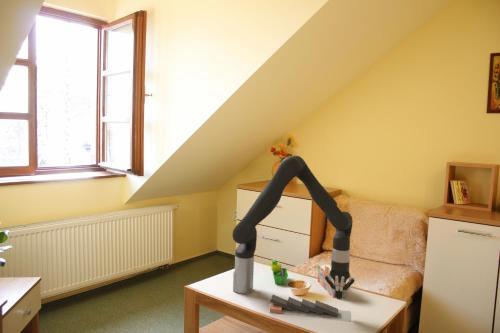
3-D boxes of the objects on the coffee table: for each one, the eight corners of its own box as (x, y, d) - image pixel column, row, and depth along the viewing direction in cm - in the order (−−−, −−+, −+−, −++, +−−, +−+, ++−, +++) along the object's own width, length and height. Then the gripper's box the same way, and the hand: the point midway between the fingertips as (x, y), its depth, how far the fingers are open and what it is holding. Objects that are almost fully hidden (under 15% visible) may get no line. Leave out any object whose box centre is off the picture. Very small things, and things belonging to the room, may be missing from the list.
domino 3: (308, 313, 168) (286, 304, 170) (309, 308, 173) (287, 300, 175) (309, 310, 168) (287, 301, 170) (310, 305, 172) (289, 296, 174)
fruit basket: (287, 285, 199) (288, 264, 198) (270, 285, 200) (271, 263, 199) (286, 277, 211) (286, 257, 210) (269, 276, 211) (270, 256, 210)
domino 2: (291, 311, 169) (269, 301, 171) (292, 306, 174) (271, 297, 176) (292, 307, 169) (271, 298, 171) (293, 303, 174) (272, 294, 176)
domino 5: (337, 317, 165) (314, 308, 167) (337, 312, 170) (315, 303, 172) (338, 313, 165) (315, 304, 167) (338, 308, 170) (316, 300, 172)
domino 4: (323, 315, 167) (300, 306, 168) (323, 310, 171) (301, 301, 173) (324, 312, 166) (301, 303, 168) (324, 307, 171) (302, 298, 173)
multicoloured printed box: (317, 281, 206) (318, 258, 205) (328, 281, 208) (329, 258, 207) (333, 298, 186) (334, 273, 184) (345, 297, 187) (347, 272, 186)
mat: (277, 313, 168) (277, 312, 168) (280, 303, 178) (280, 302, 178) (351, 322, 162) (351, 321, 162) (350, 311, 171) (350, 311, 171)
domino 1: (269, 312, 168) (271, 302, 178) (281, 313, 167) (282, 303, 177) (269, 308, 168) (272, 299, 178) (281, 309, 167) (283, 300, 177)
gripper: (324, 260, 163) (322, 300, 165) (357, 263, 161) (354, 304, 162) (324, 254, 171) (323, 293, 172) (356, 257, 168) (354, 296, 169)
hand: (338, 298), depth 167 cm, fingers closed
